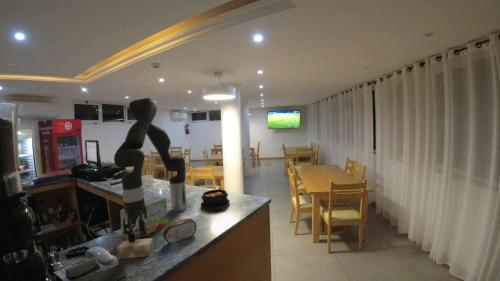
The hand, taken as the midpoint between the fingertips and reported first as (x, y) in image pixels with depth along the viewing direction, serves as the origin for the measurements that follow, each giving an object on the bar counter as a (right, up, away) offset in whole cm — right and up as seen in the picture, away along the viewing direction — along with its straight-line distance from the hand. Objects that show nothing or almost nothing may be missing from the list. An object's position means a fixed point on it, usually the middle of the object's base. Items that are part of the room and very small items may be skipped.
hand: (137, 236), depth 89 cm
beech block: (-7, -5, 0) cm, 9 cm away
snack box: (-5, -7, +18) cm, 20 cm away
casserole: (+24, -3, +51) cm, 56 cm away
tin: (+15, -6, +10) cm, 19 cm away
